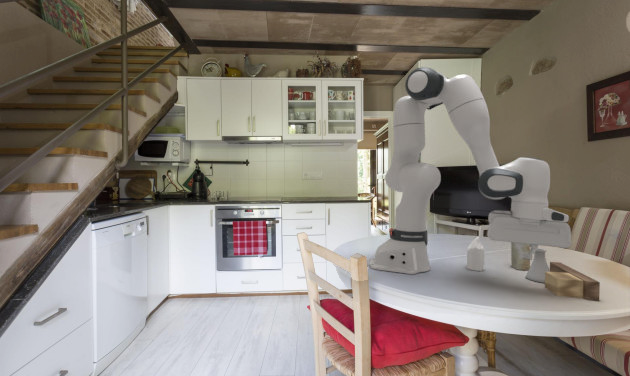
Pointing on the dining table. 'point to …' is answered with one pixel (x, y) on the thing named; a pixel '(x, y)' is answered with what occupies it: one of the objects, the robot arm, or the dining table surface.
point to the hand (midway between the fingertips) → (525, 258)
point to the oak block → (564, 284)
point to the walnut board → (589, 285)
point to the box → (516, 261)
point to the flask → (538, 267)
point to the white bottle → (475, 256)
